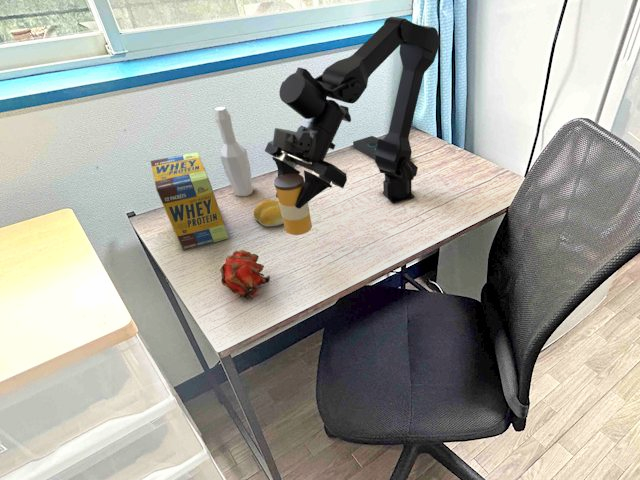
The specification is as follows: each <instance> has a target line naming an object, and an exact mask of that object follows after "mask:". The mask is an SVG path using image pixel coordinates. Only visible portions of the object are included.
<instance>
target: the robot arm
mask: <svg viewBox="0 0 640 480" xmlns="http://www.w3.org/2000/svg"><path fill="white" fill-rule="evenodd" d="M440 44H441V37H440V35H439V32H438V29H437V28H436V27H435V26H428V25H420V24H416V23H414V22H412V21H410V20H409V19H407V18H405V17H399V16H398V17H397V16H389V17H388V18H386V19H385V20H384V22H383V25H382V26H381V27H379V28H378V30H377V31H375V32H374V33H373V35H371V36H370V37H369V38H368V39H367V40H366V41H365V42H364V43H363V44H362V45H361V46H360V47H359V48H358V49H357V50H356V51H355V52H353V54H351V55H350V56H348V57H345V58H342V59H340V60H337V61H335V62H334V63H331V65H329V66H327V67H326V68H325V69H324V70H323V72H322V74H320V75H318V76H317V77H313V75H312V73H310V71H308V70H307V68H303V67H297V68H296V71H295V72H294V73H291V74H289V75H288V76H287V77H286V79H285V80H284V81H282V83H281V85H280V87H279V94H278V95H279V98H280V100H281V101H282V103H284V104H286V106H288V107H289V108H291V109H292V110H293V111H294V112H296V114H298V115H299V116H300V117H302V118H304V119H305V120H308V121H307V123H306V125H305V126H303V125H300V126H299V127H298V128H297V130H296V131H294V130H291V129H283V128H278V127H275V128H274V130H273V138H272V140H271V141H268V142H267V144H266V146H265V149H264V152H265V153H267V154H269V155H270V156H272V160H273V161H274V163H275V165H276V168H277V177H278V176H281V175H284V174H289V173H295V174H299V175H301V171H300V170H298V169H297V168H296V166H300V167H302V168H304V170H303V178H304V184H303V186H302V189H301V191H300V194H299V196H298V199H297V202H296V205H295V207H297V208H299V209H300V208H301V207H303V206H304V205H305V204H306V203H307V202H308V203H309V202H311V200H313V199H314V198H315V197H316V196H317V195H319V194H320V193H322V192H324V191H325V190H327V189H328V188H332V187H333V185H334V186H336V187H339V188H341V189H344V188H345V186H346V184H347V181H348V177H347V173H346V172H345V171H343V170H342V169H340V168H339V167H338V166H336V165H334V164H333V163H331V162H328V161H325V159H326V156H327V154H328V152H329V150H332V151H334V149H335V147H336V144H335V143H334V142H333V141H334V139H335V138H336V137H335V136H336V135H337V133H338V130H339V128H340V126H341V124H342V122H343V121H345V122H347V123H351V122H352V115H351V114H350V110H349V109H350V108H349V107H348V106H346V105H345V106H344V105H341V104H339V103H338V102H337V101H340V102H342V103H343V102H344V103H347V104H355V103H357V102H358V100H359V99H360V98H361V96H362V95H363V94H364V92H365V91H366V89H367V87H368V82H369V77H371V75H372V74H373V73H374V72H375V71H376V70H377V69H378V68H379V67H380V66H381V65H382V64H383V63H384V62H385V61H386V60H387V59H388V58H389V57H390V56H391V55H392V54H393V53H394V52H395V51H396V50H397V49H398V48H399V56H400V61H401V66H402V69H401V70H402V71H401V75H400V78H399V79H400V80H399V82H398V83H399V84H398V88H397V92H396V97H395V101H394V107H393V110H392V115H391V119H390V123H389V128H388V132H387V134H386V135H385V136H384V137H383V138H378V139H379V140H378V142H377V149H376V152H375V154H374V155H375V160H374V163H375V164H376V166H377V167H376V168H378V171H379V173H380V174H384V180H383V182H382V183H383V184H382V186H383V191H382V194H383V196H385V198H387V200H388V201H390V202H391V204H398V203H400V202H401V203H402V202H405V201H409V200H412V199H415V194H413V193H412V181H414V178H415V177H416V176H417V174H418V170H419V167H418V165H416V164H415V163H414V161H412V153H413V152H412V147H411V143H410V138H409V137H410V134H411V133H410V132H411V130H412V125H413V121H414V116H415V112H416V108H417V104H418V100H419V95H420V92H421V87H422V84H423V79H424V75H425V73H426V72H427V71H428V69H429V68H430V67H431V66H432V65H433V63H434V62H435V60H436V57H437V54H438V51H439V48H440V46H441V45H440ZM328 98H329V99H328ZM335 100H336V101H335ZM305 169H306V170H305ZM307 170H308V171H307ZM310 171H311V172H310ZM275 197H276V198H277V199H278V196H277V192H275Z"/></svg>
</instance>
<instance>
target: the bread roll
mask: <svg viewBox="0 0 640 480" xmlns="http://www.w3.org/2000/svg"><path fill="white" fill-rule="evenodd" d="M253 218H254V219H255V220H256V221H257V222H259V224H260V225H262V226H263V227H267V228H269V227H278V226H281V225H284V222H283V217H282V214H281V210H280V206H279V200H278V199H266V200H263V201H261V202H259V203H258V204H257V205H256V206H255V207H254V210H253Z"/></svg>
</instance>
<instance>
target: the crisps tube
mask: <svg viewBox="0 0 640 480" xmlns="http://www.w3.org/2000/svg"><path fill="white" fill-rule="evenodd" d="M304 182H305V177H304V175H303V176H302V174H295V173H289V174H284V175H281V176H278V175H277V176H276V178H274V179H273V185H274V188H275V191H276V192H277V196H278V198H277V201H279V206H280V210H281V214H282V217H283V222H284V223H283V225H284V226H283V227H284V230H285V232H286V233H287V234H289V235H292V236H301V235H304V234H308V232H310V231H311V230H312V229H313V224H312V218H311V212H310V205H309V202H307V203H306V204H305V205H304V206H303V207H301V208H300V209H299V208H297V207H295V205H296V202H297V199H298V196H299V194H300V191H301V189H302V186H303V184H304ZM276 192H275V193H276Z"/></svg>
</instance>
